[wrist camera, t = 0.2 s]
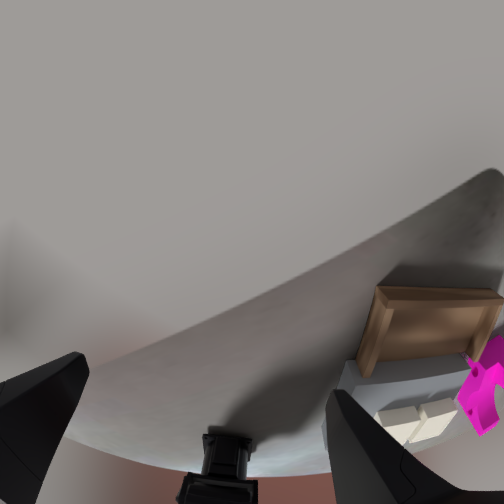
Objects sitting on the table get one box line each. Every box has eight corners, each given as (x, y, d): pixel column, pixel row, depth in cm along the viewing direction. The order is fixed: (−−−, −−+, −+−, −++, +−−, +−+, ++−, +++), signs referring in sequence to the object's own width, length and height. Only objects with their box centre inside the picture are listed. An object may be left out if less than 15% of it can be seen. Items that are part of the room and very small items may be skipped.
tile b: (397, 431, 25) (403, 444, 22) (362, 436, 25) (366, 451, 22) (414, 405, 23) (421, 420, 21) (377, 411, 23) (383, 427, 21)
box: (466, 348, 25) (477, 361, 22) (355, 359, 26) (362, 378, 23) (490, 288, 23) (504, 298, 20) (376, 285, 23) (388, 300, 20)
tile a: (433, 422, 24) (439, 434, 22) (404, 429, 25) (409, 443, 22) (450, 397, 23) (458, 409, 21) (420, 404, 23) (428, 418, 21)
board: (421, 413, 29) (430, 432, 25) (321, 426, 29) (325, 450, 26) (456, 350, 25) (471, 368, 22) (346, 359, 26) (355, 385, 22)
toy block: (469, 351, 26) (497, 384, 19) (498, 334, 25) (526, 362, 18) (451, 414, 30) (467, 444, 23) (477, 398, 29) (495, 425, 22)
